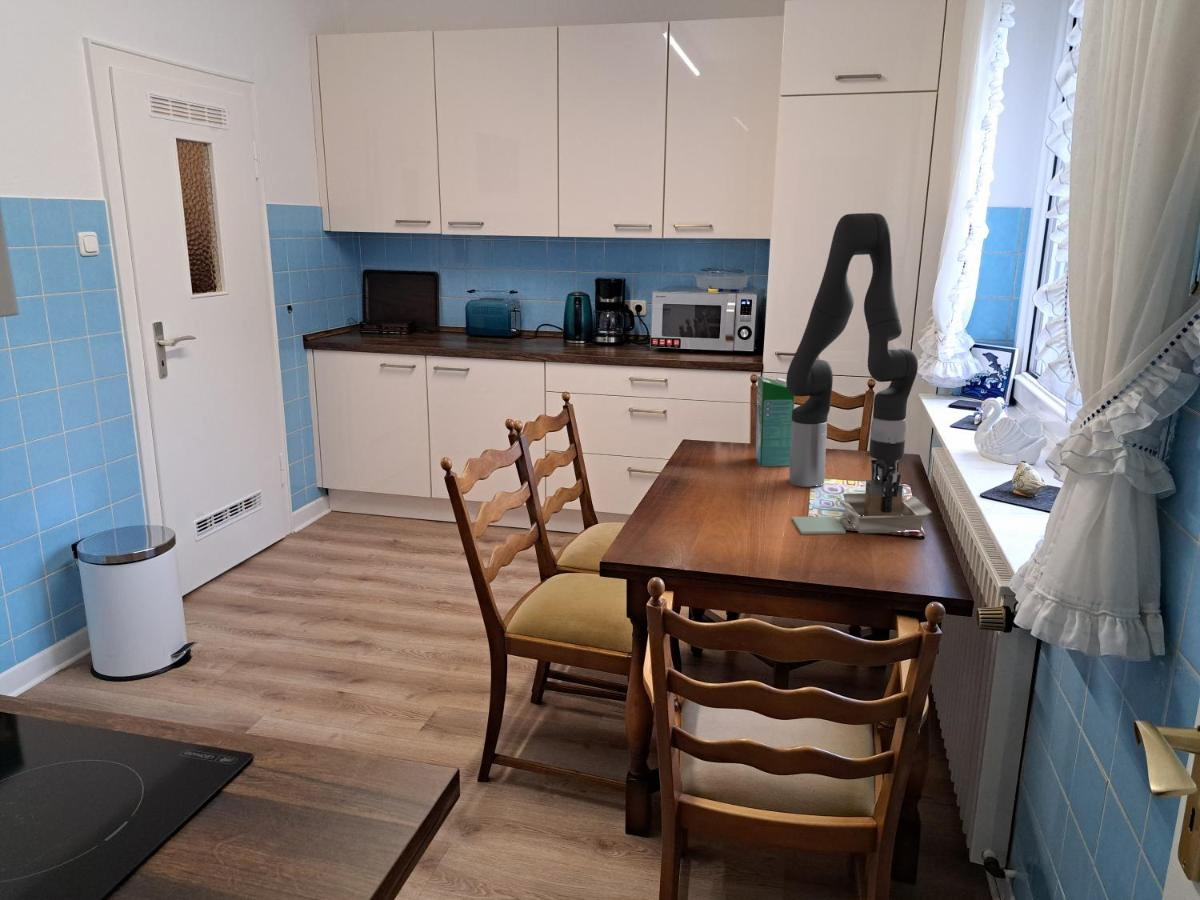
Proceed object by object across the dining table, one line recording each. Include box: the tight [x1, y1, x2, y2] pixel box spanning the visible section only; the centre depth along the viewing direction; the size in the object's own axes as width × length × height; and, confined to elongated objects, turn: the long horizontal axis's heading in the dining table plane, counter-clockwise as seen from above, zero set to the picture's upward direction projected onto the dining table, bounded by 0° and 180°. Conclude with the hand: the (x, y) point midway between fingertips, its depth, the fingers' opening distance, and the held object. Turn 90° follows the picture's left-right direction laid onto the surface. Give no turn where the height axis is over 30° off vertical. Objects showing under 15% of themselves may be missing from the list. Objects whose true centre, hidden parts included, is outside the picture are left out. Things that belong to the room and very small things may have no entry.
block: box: [864, 479, 904, 516], centre depth 198 cm, size 4×7×10 cm, turn 90°
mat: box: [791, 515, 847, 535], centre depth 198 cm, size 10×10×1 cm
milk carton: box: [755, 376, 795, 467], centre depth 248 cm, size 9×9×25 cm
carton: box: [836, 492, 932, 534], centre depth 198 cm, size 16×18×5 cm
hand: (882, 508), depth 198 cm, fingers closed on block, 4 cm apart
